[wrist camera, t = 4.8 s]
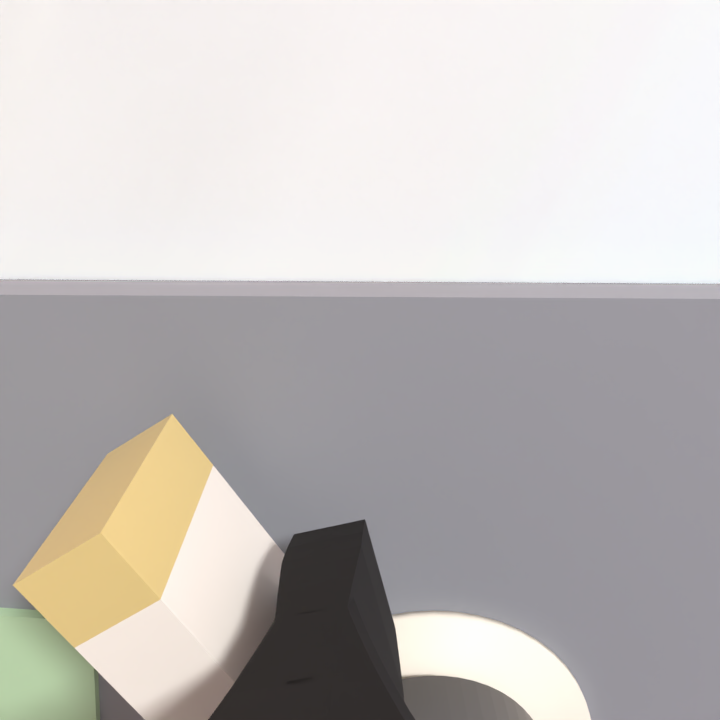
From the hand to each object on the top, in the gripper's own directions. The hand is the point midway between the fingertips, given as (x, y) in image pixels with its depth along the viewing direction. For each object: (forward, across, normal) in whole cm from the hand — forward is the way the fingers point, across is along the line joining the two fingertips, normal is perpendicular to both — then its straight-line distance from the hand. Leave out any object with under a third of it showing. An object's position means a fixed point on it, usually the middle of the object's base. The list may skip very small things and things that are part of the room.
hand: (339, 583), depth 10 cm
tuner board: (+3, +1, +4) cm, 5 cm away
